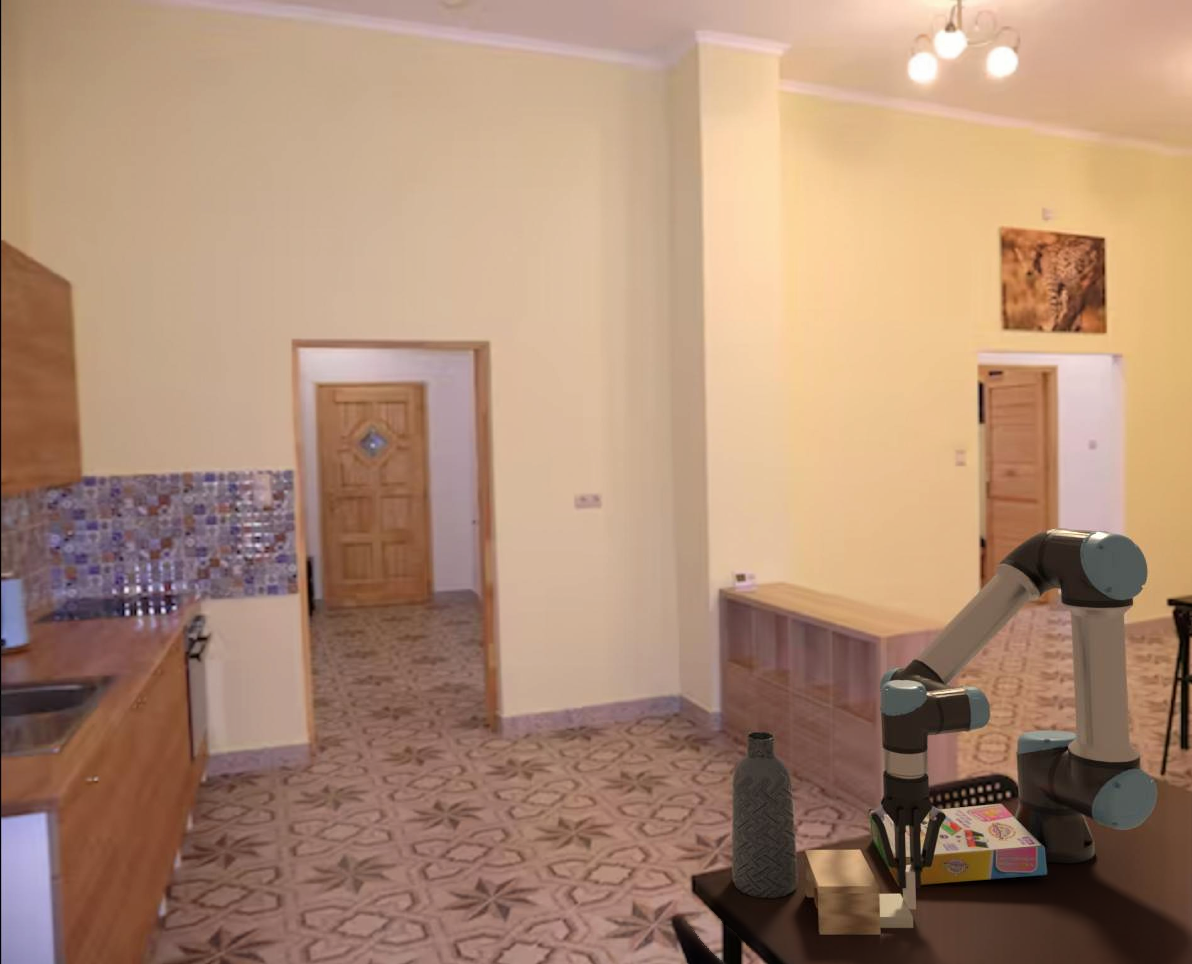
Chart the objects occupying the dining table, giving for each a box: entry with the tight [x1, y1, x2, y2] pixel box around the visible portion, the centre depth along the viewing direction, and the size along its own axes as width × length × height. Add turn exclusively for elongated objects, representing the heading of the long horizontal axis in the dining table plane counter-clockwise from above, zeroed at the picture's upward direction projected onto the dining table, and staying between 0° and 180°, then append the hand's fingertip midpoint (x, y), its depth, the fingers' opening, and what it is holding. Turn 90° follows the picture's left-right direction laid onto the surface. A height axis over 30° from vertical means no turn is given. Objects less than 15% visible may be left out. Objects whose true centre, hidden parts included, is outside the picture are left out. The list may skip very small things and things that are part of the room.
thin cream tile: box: [879, 893, 914, 929], centre depth 155 cm, size 12×8×2 cm, turn 86°
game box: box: [869, 803, 1048, 887], centre depth 174 cm, size 21×6×27 cm
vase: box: [731, 731, 799, 899], centre depth 168 cm, size 12×12×28 cm
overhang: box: [804, 849, 882, 936], centre depth 156 cm, size 10×14×8 cm
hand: (909, 905), depth 155 cm, fingers closed
